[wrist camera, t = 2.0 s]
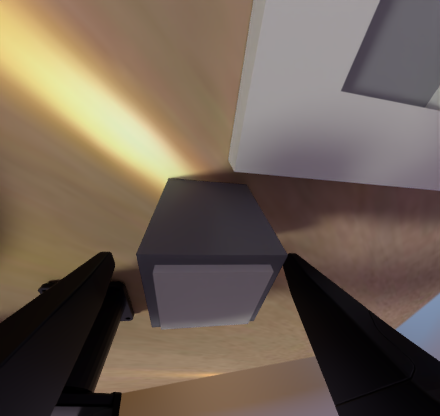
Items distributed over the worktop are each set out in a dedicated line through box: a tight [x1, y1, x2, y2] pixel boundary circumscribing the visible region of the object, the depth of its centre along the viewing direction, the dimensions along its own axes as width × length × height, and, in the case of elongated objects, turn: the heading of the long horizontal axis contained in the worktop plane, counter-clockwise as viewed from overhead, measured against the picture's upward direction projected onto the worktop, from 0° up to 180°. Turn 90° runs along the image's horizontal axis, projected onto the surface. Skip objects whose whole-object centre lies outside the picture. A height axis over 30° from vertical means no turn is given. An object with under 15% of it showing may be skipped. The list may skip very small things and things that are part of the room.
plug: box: [136, 178, 288, 329], centre depth 9 cm, size 5×5×6 cm
